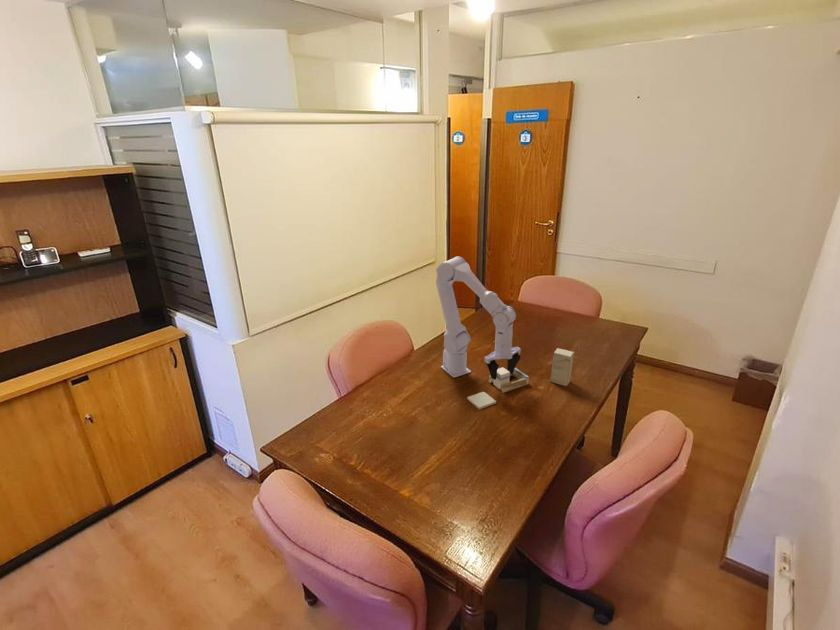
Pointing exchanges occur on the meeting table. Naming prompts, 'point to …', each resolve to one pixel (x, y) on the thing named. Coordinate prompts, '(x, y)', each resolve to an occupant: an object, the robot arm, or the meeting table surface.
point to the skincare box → (562, 366)
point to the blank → (501, 378)
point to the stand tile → (481, 400)
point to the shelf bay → (515, 384)
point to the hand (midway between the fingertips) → (501, 375)
